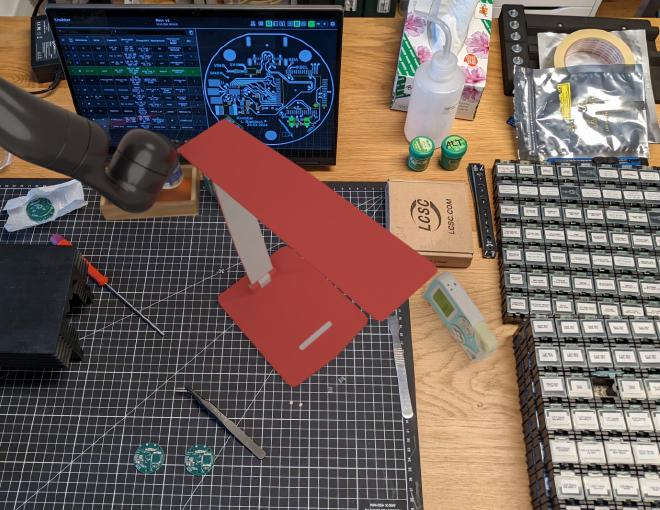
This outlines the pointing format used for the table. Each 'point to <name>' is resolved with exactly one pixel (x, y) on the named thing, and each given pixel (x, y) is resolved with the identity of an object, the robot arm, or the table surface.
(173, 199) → the wooden box
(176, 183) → the pill bottle
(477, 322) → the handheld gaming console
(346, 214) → the desk lamp
